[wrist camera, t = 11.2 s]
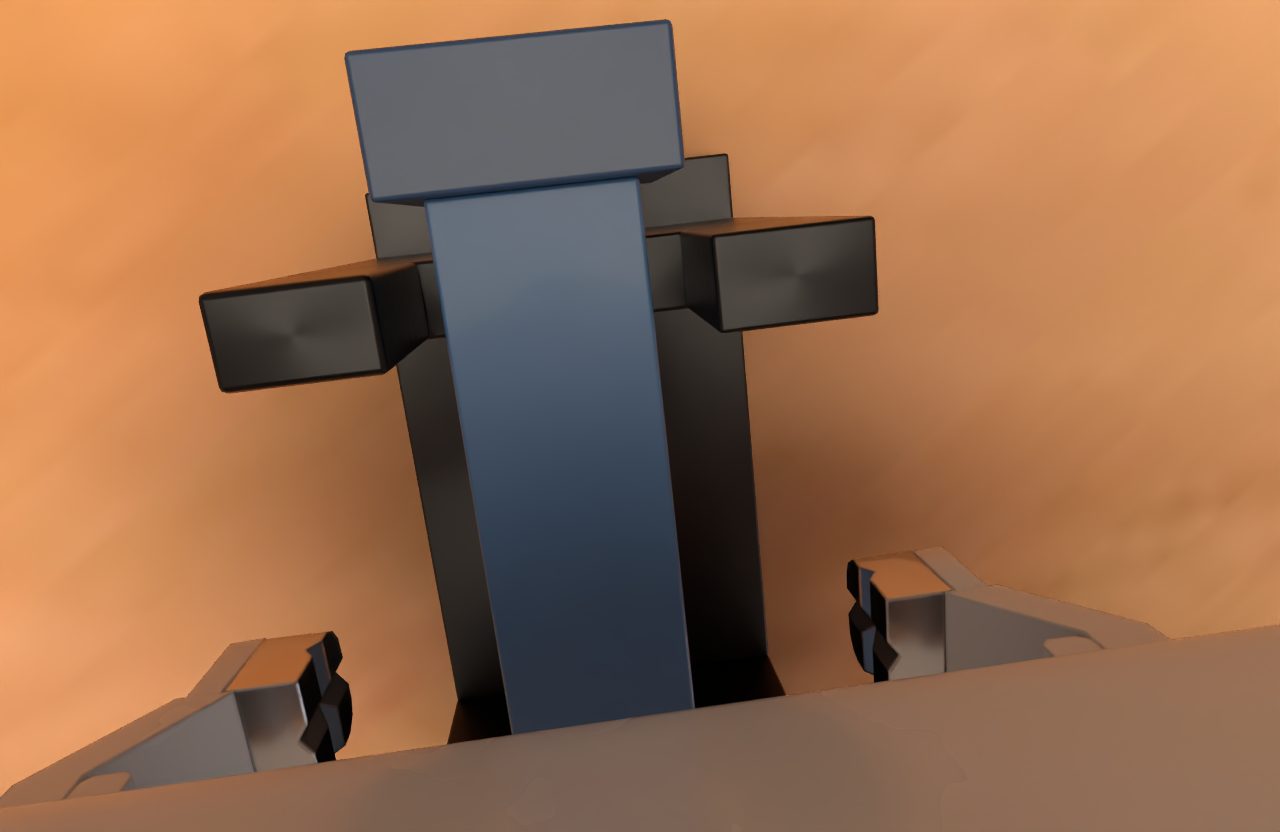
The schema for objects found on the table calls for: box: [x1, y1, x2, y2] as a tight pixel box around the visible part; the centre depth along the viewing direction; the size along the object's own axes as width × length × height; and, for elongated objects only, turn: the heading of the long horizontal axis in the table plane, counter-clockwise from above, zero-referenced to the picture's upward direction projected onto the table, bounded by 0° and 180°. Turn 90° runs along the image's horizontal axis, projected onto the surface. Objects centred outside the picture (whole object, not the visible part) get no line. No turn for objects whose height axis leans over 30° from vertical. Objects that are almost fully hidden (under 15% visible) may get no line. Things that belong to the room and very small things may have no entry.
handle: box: [344, 19, 695, 735], centre depth 13 cm, size 4×17×4 cm, turn 6°
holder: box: [199, 154, 879, 744], centre depth 16 cm, size 8×15×10 cm, turn 6°
